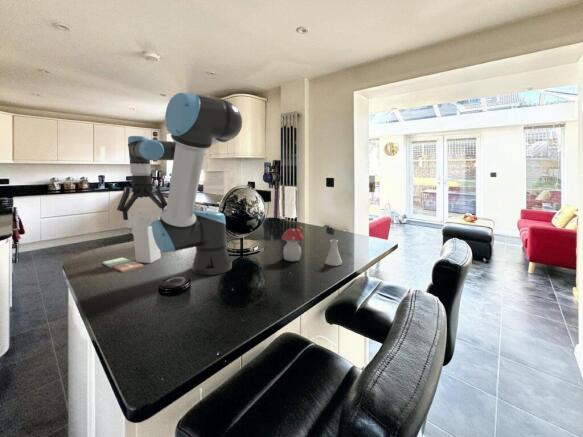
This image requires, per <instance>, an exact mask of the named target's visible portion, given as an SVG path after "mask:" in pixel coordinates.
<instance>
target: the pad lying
mask: <svg viewBox="0 0 583 437" xmlns="http://www.w3.org/2000/svg"><path fill="white" fill-rule="evenodd" d="M143 267H144V264H143V263H141V262H136V260H134V261H133V260H132V261H131V262H128V263H124V264H120V265H116V266H114V267H113V269H114V270H115V269H116V270H117V271H119V272H121V273H126V272H129V271H133V270H136V269H139V268H143Z"/></svg>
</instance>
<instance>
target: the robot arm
mask: <svg viewBox="0 0 583 437" xmlns="http://www.w3.org/2000/svg"><path fill="white" fill-rule="evenodd" d="M164 117H165V118H164V119H165V127H166V129H167V131H168V133H169V134H171V135H170V137H171V139H172V140H173V141H167V140H157V139H149V138H148V137H147V136H144V135H130V136H128V138H127V146H128V147H127V148H128V157H129V168H130V174H131V175H130V181H131V187H126V186H124V187H123V193H122V196H121V199H120V201H119V203H118V205H117V209H116V210H117V211H118V212H122V219H123V221H125V227H126V228H127V229H131V228H132V222H131V212H130V211H129V210H130V209H131V208H132V206H133V205H134V203H135V202H136V201H137V199H141V198H149V199H150V200H151V201H152V202H153V203H154V204H155V205H156V206H157V208H156V212H157V219H156V220H153V221H154V222H153V223H152V233H153V237H154V240H155V243H156V245H157V247H158V248H159V249H160V252H162V253H173V252H177V251H183V250H186V249H192V248H195V254H194V259H193V261H192V265H191V267H192V270H191V271H192V272H193V274H195V275H200V276H213V275H214V276H215V275H221V274H224V273H226V272H228V271H231V269H232V267H233V265H232V260H231V257H230V254H229V251H228V248H227V229H226V228H227V227H226V225H227V222H226V215H225V214H224V213H222V212H220V211H210V210H194V209H195V204H196V199H197V194H198V189H199V184H200V178H201V173H202V168H203V162H204V157H205V154H206V150H209V149H210V148H211V147H212V146H214V145H216V144H218V143H227V142H229V141H231V140H233V139H235V138H236V137H237V136H238V135H239V133H241V130H242V127H243V118H242V117H243V116H242V115H241V112H240V110H239V109H238V107H237V106H236V105H234V104H233V103H232V102H230V101H229V100H227V99H223V98H217V97H211V96H206V95H201V94H196V93H194V92H190V93H189V92H188V93H187V92H177V93H175V94H174V95H173V96H172V97H171V98H170V99H169V101H168V104H167V106H166V110H165V116H164ZM151 161H173V162H172V169H171V176H170V183H169V190H168V196H167V201H166V199H165V197H164V195H163V194H162V192H161V189H160V188H161V187H160V186H159V185H154V186H153V185H152V184H153V181H152V179H153V178H152V175H151V174H152V169H151V167H152V166H151ZM152 191H154V193H155V194H156V196H157V197H156V196H155V195H154V193H153V192H152ZM130 193H132V195H131V196H130ZM129 196H130V198H129ZM127 200H128V201H127ZM165 207H166V208H165Z"/></svg>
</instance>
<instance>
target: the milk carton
mask: <svg viewBox="0 0 583 437" xmlns="http://www.w3.org/2000/svg"><path fill="white" fill-rule="evenodd" d="M153 218H154V217H146V216H145V217H143V216H141V217H139V216H138V217H137V221H136V222H135V223H134V225H133V226H132V233H133V244H134V246H133V247H134V253H135V255H134V256H135V262H137V263H140V264H143V263H144V264H152V263H154V262H156V261H159V260H160V259H162V256H161V252H162V251H161V250H160V249H159V248H158V247H157V245H156V243H155V240H154V237H153V233H152V223H153V222H154V221H155V220H154V219H153Z"/></svg>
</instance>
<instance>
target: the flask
mask: <svg viewBox="0 0 583 437" xmlns="http://www.w3.org/2000/svg"><path fill="white" fill-rule="evenodd" d="M338 241H339V240H338V239H331V240H329V243H330V248H329V251H328V254H327V257H326V259H325V261H324V265H327V266H331V267H338V266H342V265H343V261H342V258H341V255H340V253H339V248H338V243H339V242H338Z"/></svg>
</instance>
